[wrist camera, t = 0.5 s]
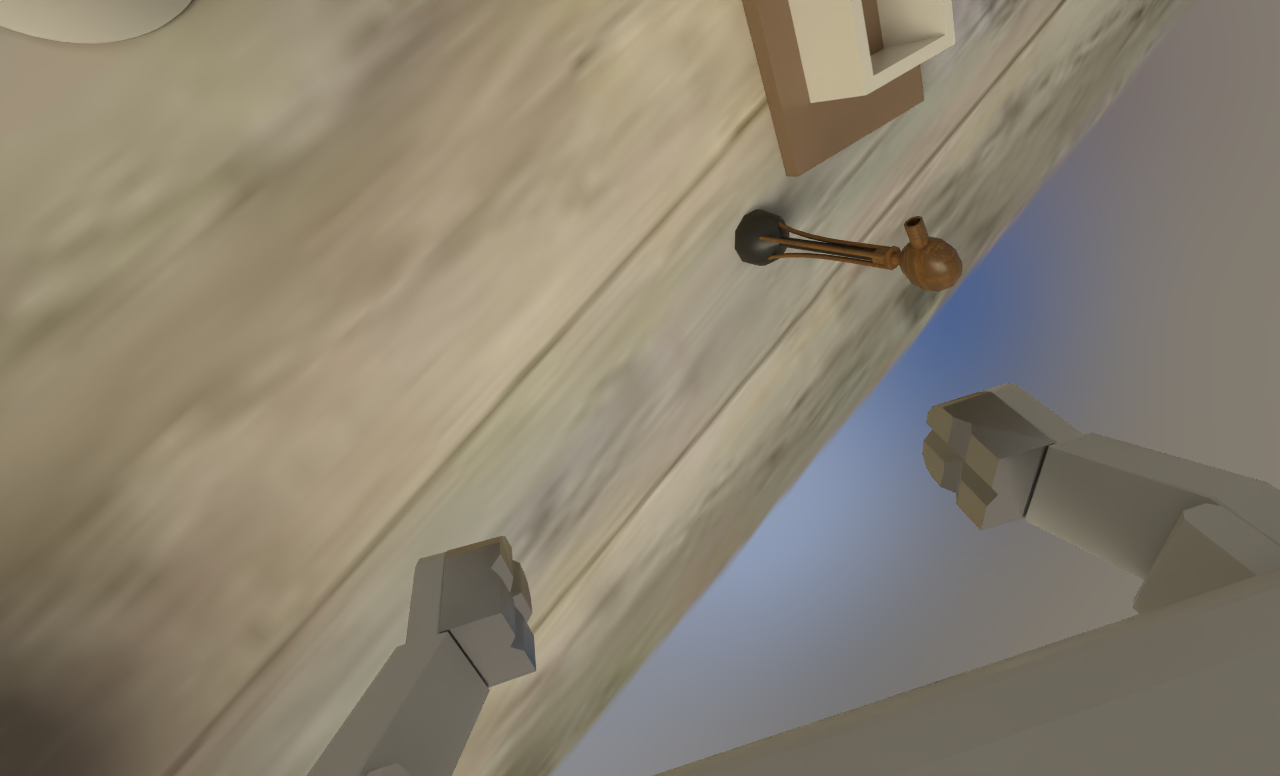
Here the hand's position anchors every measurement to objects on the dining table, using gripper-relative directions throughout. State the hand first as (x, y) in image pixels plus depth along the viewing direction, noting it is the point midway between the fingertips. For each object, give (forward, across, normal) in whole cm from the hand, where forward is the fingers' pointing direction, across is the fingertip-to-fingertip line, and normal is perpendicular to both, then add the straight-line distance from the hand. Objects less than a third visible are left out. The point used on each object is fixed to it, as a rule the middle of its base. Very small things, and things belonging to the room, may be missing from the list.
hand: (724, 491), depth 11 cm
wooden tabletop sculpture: (+40, -15, +14) cm, 45 cm away
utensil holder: (+46, -25, -1) cm, 52 cm away
